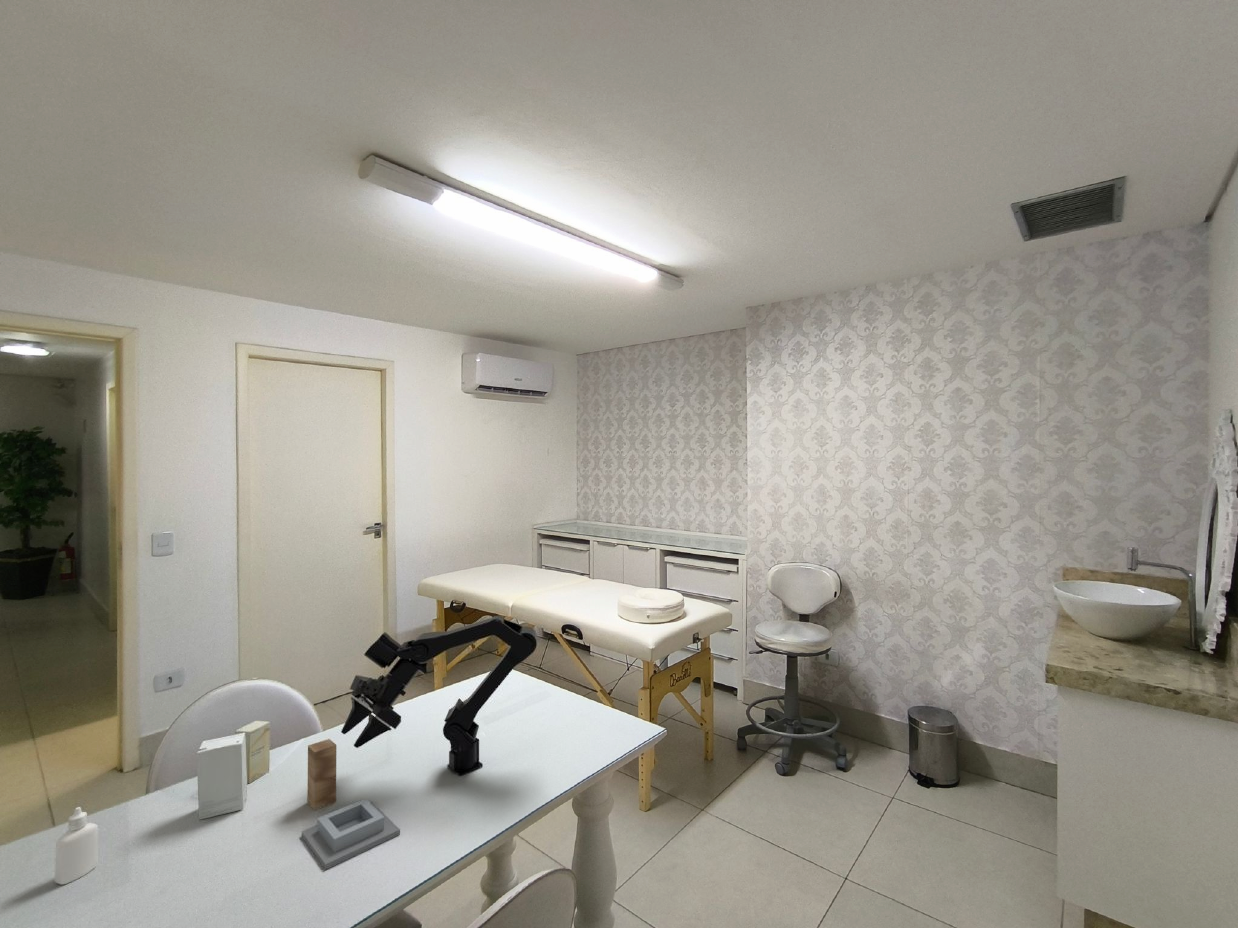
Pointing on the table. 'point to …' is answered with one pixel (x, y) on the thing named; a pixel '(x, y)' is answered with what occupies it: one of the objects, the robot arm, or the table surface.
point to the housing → (348, 832)
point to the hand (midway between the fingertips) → (348, 739)
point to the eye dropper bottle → (76, 849)
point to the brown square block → (321, 774)
